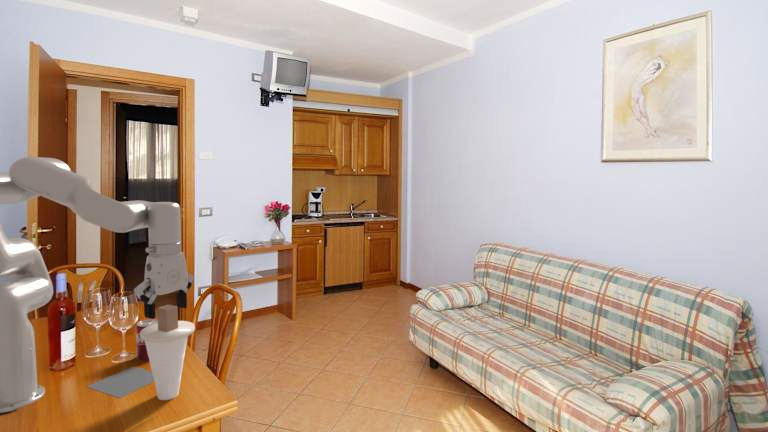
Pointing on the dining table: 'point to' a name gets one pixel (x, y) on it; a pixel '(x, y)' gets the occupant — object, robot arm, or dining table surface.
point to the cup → (167, 366)
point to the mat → (124, 382)
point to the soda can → (140, 343)
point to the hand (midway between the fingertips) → (166, 312)
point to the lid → (167, 326)
